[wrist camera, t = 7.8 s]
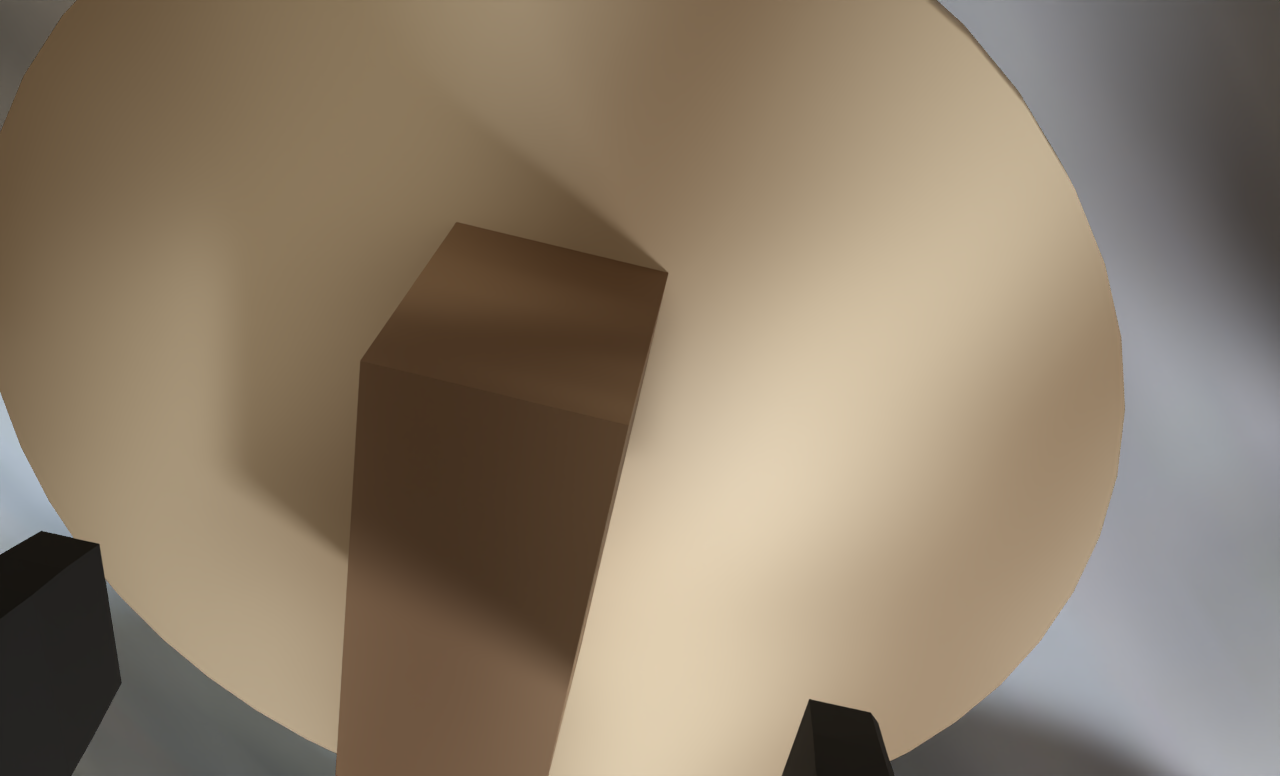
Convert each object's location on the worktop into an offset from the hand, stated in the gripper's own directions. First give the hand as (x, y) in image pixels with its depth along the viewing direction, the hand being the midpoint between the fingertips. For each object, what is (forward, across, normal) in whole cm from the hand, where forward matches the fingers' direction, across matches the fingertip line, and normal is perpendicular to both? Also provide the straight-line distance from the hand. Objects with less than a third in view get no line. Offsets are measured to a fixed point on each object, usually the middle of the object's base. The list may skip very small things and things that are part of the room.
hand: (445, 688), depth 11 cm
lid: (+4, 0, 0) cm, 4 cm away
